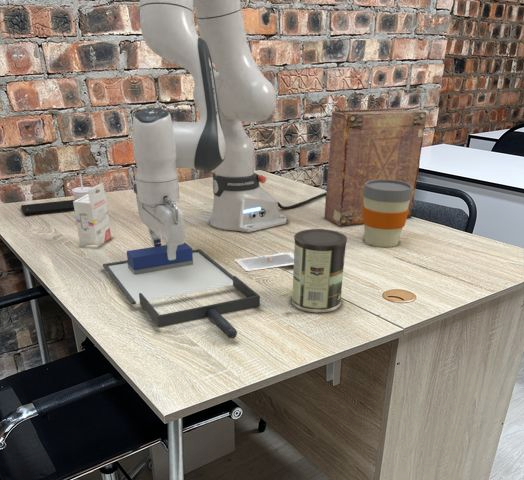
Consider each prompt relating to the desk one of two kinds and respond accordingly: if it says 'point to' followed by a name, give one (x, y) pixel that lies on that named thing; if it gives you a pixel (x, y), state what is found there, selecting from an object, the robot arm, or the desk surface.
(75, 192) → the smoothie
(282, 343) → the desk surface
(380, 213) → the reusable coffee cup
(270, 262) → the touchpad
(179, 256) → the eraser
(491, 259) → the desk surface
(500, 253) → the desk surface
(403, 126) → the book
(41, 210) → the cell phone
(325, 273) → the coffee can
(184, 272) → the whiteboard
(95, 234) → the ink cartridge box
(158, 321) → the dustpan
